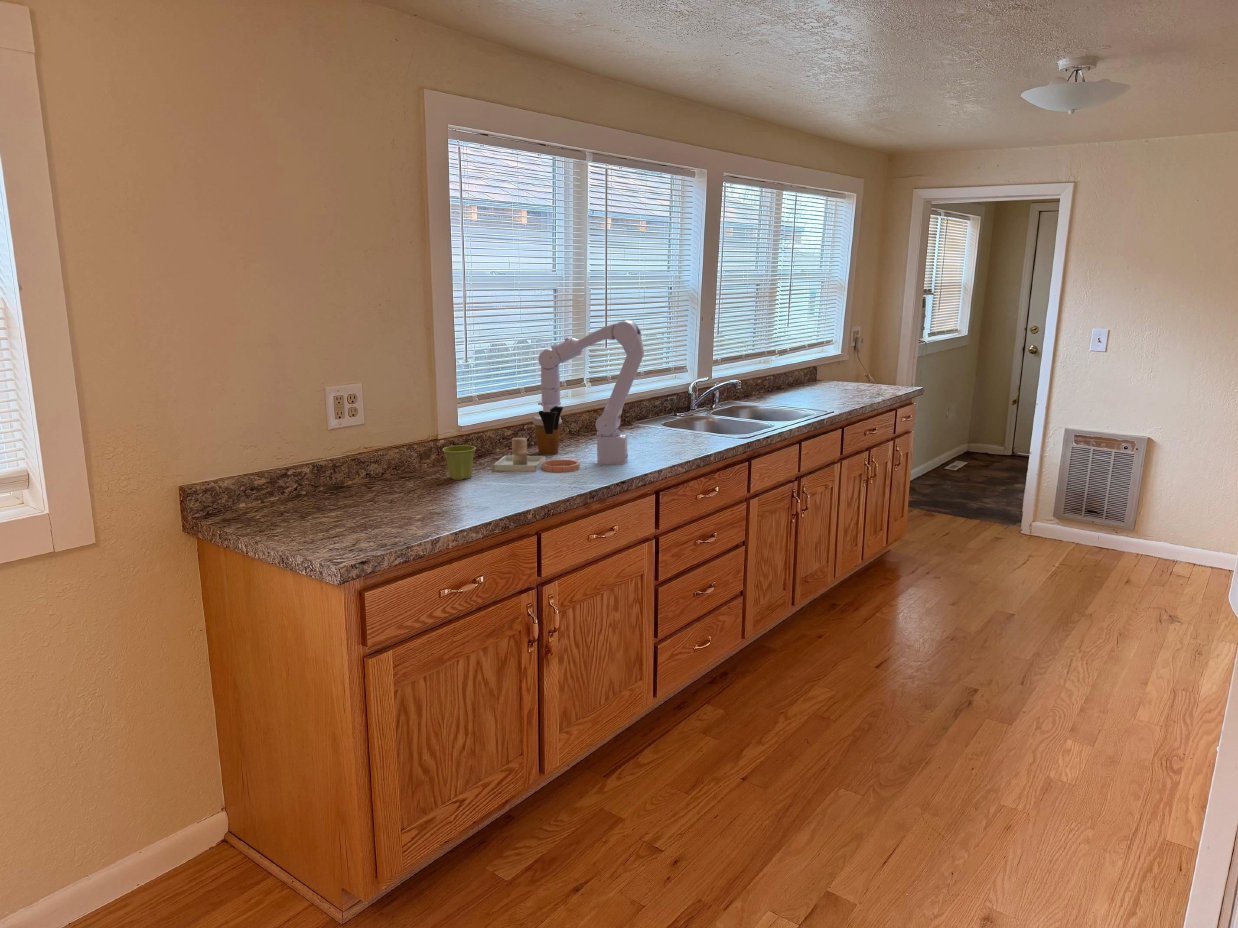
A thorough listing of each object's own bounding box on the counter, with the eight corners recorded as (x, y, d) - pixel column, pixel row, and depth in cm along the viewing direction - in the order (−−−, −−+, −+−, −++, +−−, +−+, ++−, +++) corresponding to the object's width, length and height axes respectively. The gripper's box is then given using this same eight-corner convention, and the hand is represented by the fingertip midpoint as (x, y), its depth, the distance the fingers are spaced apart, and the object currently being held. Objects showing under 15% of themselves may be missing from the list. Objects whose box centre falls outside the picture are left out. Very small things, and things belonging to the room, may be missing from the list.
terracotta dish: (582, 466, 261) (582, 459, 260) (576, 473, 250) (575, 467, 250) (546, 465, 262) (546, 459, 262) (539, 473, 251) (539, 466, 251)
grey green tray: (545, 463, 265) (545, 456, 265) (536, 472, 252) (536, 465, 251) (505, 462, 267) (504, 455, 267) (493, 472, 253) (493, 464, 253)
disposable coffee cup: (564, 450, 285) (564, 414, 283) (560, 456, 276) (559, 419, 274) (536, 450, 286) (535, 414, 284) (531, 455, 277) (530, 419, 275)
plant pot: (470, 481, 241) (468, 451, 239) (438, 480, 243) (437, 450, 241) (481, 474, 250) (480, 445, 248) (451, 473, 252) (450, 444, 250)
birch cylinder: (528, 463, 261) (528, 437, 259) (525, 466, 257) (524, 440, 255) (514, 463, 262) (513, 437, 260) (511, 466, 257) (510, 440, 256)
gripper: (542, 385, 271) (543, 427, 274) (532, 391, 257) (534, 435, 260) (564, 385, 270) (565, 427, 273) (555, 391, 256) (556, 435, 259)
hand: (551, 431), depth 266 cm, fingers open, 7 cm apart
